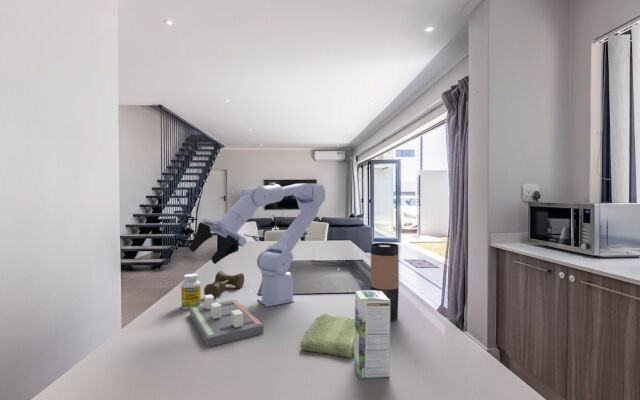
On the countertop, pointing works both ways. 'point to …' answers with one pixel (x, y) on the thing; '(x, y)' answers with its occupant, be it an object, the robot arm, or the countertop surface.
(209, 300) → the handle right
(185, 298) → the supplement bottle
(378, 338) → the syrup box
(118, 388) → the countertop surface
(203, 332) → the switch panel
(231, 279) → the kendama
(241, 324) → the handle
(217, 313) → the handle middle
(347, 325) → the washcloth
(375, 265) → the travel mug
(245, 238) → the robot arm
